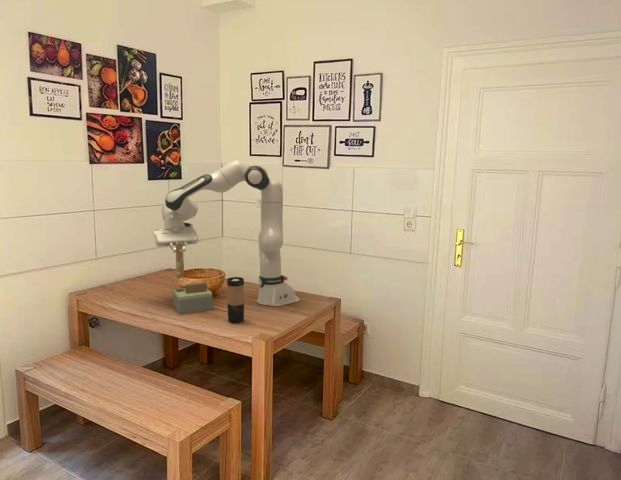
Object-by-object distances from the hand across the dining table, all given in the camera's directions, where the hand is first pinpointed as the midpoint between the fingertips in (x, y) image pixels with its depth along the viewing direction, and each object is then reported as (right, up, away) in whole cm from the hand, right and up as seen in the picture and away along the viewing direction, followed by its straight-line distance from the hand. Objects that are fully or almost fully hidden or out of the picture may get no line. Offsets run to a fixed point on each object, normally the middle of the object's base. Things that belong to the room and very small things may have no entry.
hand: (179, 251), depth 228 cm
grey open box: (+5, -29, +4) cm, 30 cm away
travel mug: (+29, -32, -10) cm, 45 cm away
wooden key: (0, -13, +3) cm, 13 cm away
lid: (+6, -21, +3) cm, 22 cm away
